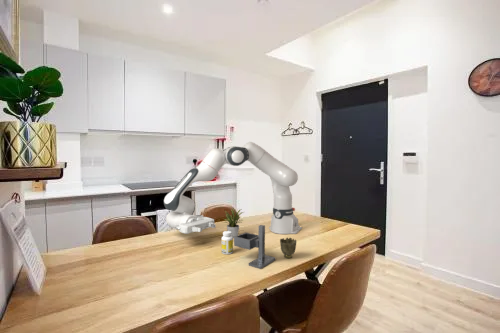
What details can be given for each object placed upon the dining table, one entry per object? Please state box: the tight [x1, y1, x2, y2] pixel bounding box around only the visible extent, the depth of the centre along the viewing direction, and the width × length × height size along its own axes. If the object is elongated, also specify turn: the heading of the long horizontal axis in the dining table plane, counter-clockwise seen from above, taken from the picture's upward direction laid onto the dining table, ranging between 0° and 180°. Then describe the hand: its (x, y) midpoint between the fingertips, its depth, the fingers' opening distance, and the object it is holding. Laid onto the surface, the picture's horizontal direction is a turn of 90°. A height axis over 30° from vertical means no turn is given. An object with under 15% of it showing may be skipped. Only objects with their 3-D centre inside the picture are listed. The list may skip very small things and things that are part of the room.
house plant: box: [223, 208, 244, 239], centre depth 153 cm, size 14×14×16 cm
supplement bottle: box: [221, 230, 234, 255], centre depth 128 cm, size 5×5×10 cm
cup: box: [279, 237, 298, 259], centre depth 122 cm, size 8×7×8 cm
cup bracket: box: [233, 224, 277, 270], centre depth 118 cm, size 12×15×16 cm
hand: (208, 228), depth 134 cm, fingers open, 8 cm apart
